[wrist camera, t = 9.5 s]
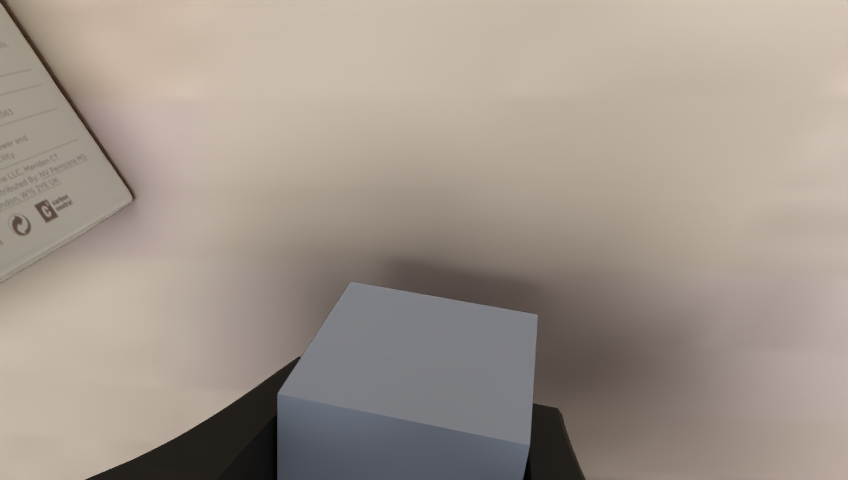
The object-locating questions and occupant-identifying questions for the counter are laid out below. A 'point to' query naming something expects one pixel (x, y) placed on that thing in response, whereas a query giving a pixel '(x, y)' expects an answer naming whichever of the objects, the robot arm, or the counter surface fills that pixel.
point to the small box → (45, 162)
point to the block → (410, 391)
